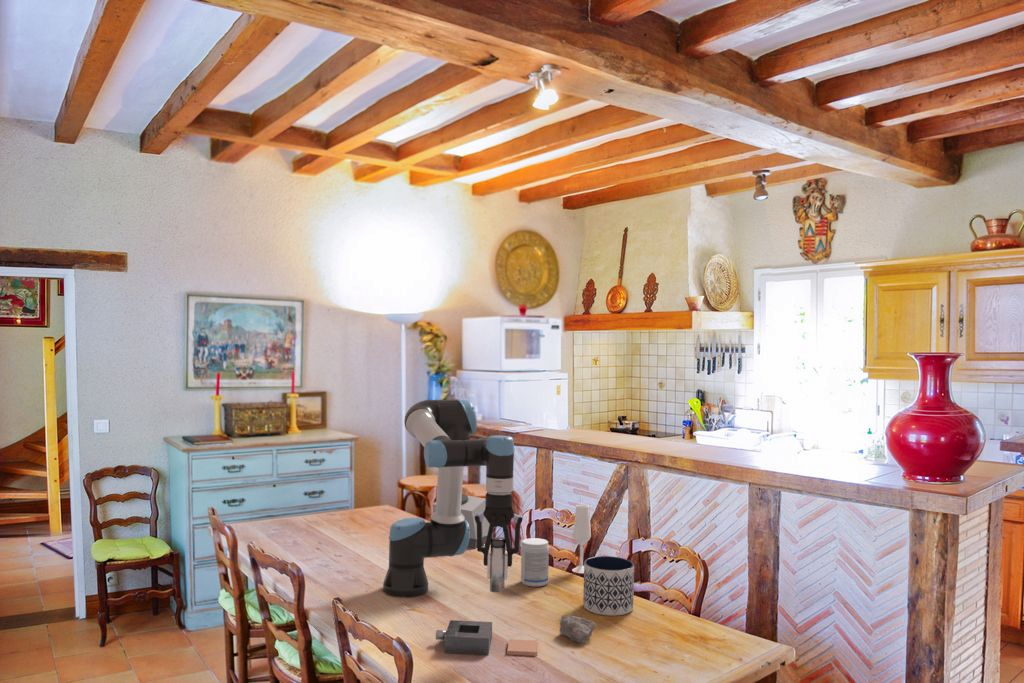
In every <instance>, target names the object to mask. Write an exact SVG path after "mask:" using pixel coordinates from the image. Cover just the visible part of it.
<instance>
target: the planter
mask: <svg viewBox="0 0 1024 683" xmlns="http://www.w3.org/2000/svg"><path fill="white" fill-rule="evenodd" d="M583 566H584V573H583V594H582V595H583V596H582V598H583V599H582V602H583V603H582V606H583V607H584V609H585V610H587V611H588V612H590V613H592V612H593V613H592V614H596V615H599V614H600V615H601V616H609V617H617V616H618V617H619V616H624V615H627V614H629V613H631V612H632V611H633V610H634V591H635V583H634V582H635V564H634V562H633V561H631V560H629V559H627V558H622V557H618V556H608V555H598V556H593V557H592V556H591V557H588V558H586V559H585V560H583ZM600 615H599V616H600Z"/></svg>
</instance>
